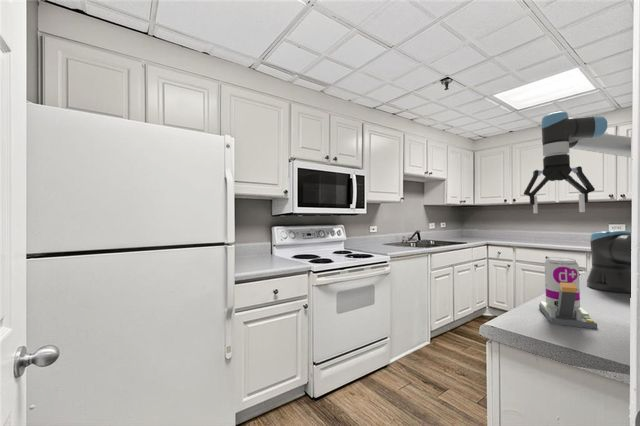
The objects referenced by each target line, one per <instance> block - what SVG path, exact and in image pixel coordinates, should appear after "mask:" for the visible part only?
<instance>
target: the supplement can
mask: <svg viewBox="0 0 640 426" xmlns="http://www.w3.org/2000/svg"><path fill="white" fill-rule="evenodd" d="M560 282H562V283H575V285H576V287H577V293H576V296H575V303H574V309H578V308H580V307H581V291H580V289H581V288H580V267H579V264H578V262H577V261H576V259H574V258H569V257H556V256H555V257H547V258H546V259H545V261H544V284H545V285H544V286H545V302H546V303H547V304H548V305H549V306H550V307H553V308H556V309H557V307H558V299H559V291H560V287H559V286H560Z"/></svg>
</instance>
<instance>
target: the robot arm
mask: <svg viewBox="0 0 640 426" xmlns="http://www.w3.org/2000/svg"><path fill="white" fill-rule="evenodd" d="M607 129H608V120H607V119H606V118H605V117H604V116H601V115H600V116H599V115H598V116H596V115H595V116H594V115H591V116H583V117H569V114H568V112H566V111H557V112H551V113H548V114H546V115H544V116H543V117H542V119H541V142H542V157H543V158H542V161H543V163H542V165H543V166H542V167H543V168H542V170H538V169H535V170H533V172H532V177H531V179H530V181H529V183H528V184H527V186H526V189H524V192H523V196H528V197H529V204H530V205H531V206H533V207H532V208H533V214H538V213H539V212H538V196H537V195H536V194H537V193H538V192H539V191H540V190H541V189H542V188H543V187H544V186H545V185H546V183H548V182H549V181H550V182H554V181H557V182H559V181H563V180H564V181H565V182H567V183H568V184H569V185H571V186H572V187H574V188H575V189H576V190H577V191H578V192H580V193H579V194H578V212H579V213H585V212H586V203H589V193H593V192H594V191H596V189H595V187H594V186H593V184H592V183H591V182H590V181H589V178H587V176H586V174H584V172H583V167H582V166H579V165H578V166H576V167H571V161H570V159H571V157H570V155H569V154H570V149H573V150H579V151H586V152H592V153H599V154H605V155H606V154H607V155H611V156H618V157H624V158H625V157H626V158H631V137H632V136H624V135H617V134H613V133H612V134H611V133H606V131H607ZM631 159H632V158H631ZM571 172H572V173H573V174H575V175H576V177H577V179H579V181H580V182H581V183H582V185H581V184H580V183H579V182H578V181H577V180H575V179H574V178H573V176H571V175H570V174H571ZM541 174H542V175H543V176H544V178H543V179H542V180H541V181H540V182H539V183H538V185H536V186H535V188H534V189H532V188H533V186H534V185H535V183H536V181H537V179H538V177H540V176H541ZM589 242H590V253H591V254H590V255H591V268H590V272H589V274H588V275H587V278H586V286H587V287H589V288H591V289H595V290H600V291H607V292H613V293H623V294H624V293H625V294H628V293H629V294H632V293H631V231H630V230H613V231H611V230H610V231H596V232H593V233H591V235H590V241H589ZM626 292H627V293H626Z"/></svg>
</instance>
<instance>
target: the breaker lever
mask: <svg viewBox="0 0 640 426" xmlns="http://www.w3.org/2000/svg"><path fill="white" fill-rule="evenodd" d="M559 287H560V291H559V299H558V307H557V312H556V311H555V316H562V317H574V318H575V314H574V313H573V310H574V303H575V296H576V293H577V287H576V285H575V283H562V282H560V286H559Z"/></svg>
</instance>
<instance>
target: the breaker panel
mask: <svg viewBox="0 0 640 426" xmlns="http://www.w3.org/2000/svg"><path fill="white" fill-rule="evenodd" d="M538 307H539V308H538V309H539V310H540V311H541V312H542V314H543V315H544V316H545V318H547V320H548V321H549V322H550V324H552V325H557V326H558V325H560V326H567V327H568V326H569V327H577V328H586V329H587V328H588V329H596V330H598V323H597V321H595V320H594V319H593V318H592V317H590V313H589V312H587V311H586V310H585V309H583V308H582V307H581V306H580V308H578V309H574V310H573V313H574V314H575V318H574V317H562V316H555V311H556V312H557V309H556V308H553V307H550V306H549V305H548V304H547V303H546V301H542V300H540V301H539V304H538Z"/></svg>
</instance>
